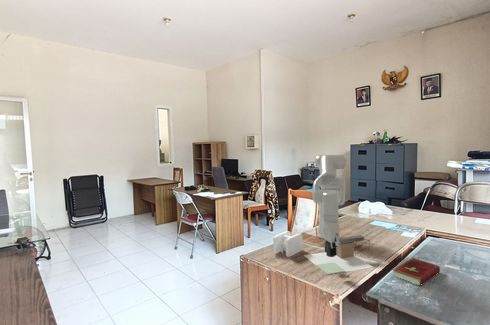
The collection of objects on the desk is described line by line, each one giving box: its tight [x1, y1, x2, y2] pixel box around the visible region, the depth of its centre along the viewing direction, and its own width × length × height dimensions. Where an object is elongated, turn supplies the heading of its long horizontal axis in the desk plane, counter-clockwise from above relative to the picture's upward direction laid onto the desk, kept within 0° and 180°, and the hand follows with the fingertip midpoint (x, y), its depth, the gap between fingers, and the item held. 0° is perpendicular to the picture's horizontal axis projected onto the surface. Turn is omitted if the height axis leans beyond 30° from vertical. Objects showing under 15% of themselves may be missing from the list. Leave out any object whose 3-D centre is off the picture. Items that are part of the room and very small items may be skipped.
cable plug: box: [326, 241, 335, 257], centre depth 133 cm, size 4×4×7 cm
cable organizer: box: [272, 230, 304, 258], centre depth 157 cm, size 15×11×12 cm
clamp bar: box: [334, 235, 365, 244], centre depth 149 cm, size 3×18×2 cm, turn 105°
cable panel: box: [303, 242, 373, 276], centre depth 143 cm, size 24×26×9 cm
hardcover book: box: [392, 257, 441, 286], centre depth 129 cm, size 12×21×4 cm, turn 125°
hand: (330, 253), depth 134 cm, fingers closed on cable plug, 4 cm apart
